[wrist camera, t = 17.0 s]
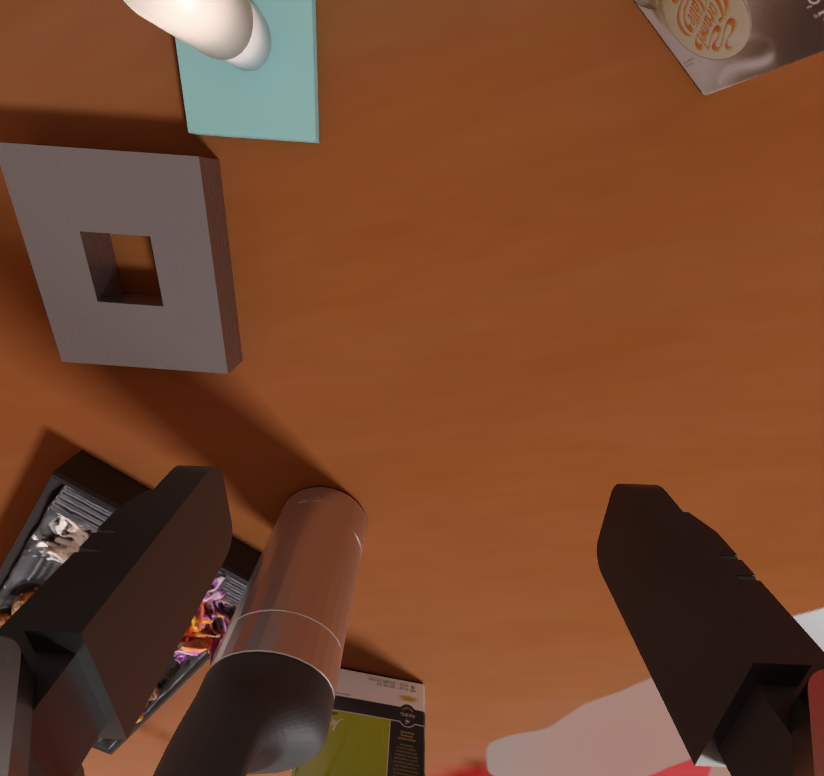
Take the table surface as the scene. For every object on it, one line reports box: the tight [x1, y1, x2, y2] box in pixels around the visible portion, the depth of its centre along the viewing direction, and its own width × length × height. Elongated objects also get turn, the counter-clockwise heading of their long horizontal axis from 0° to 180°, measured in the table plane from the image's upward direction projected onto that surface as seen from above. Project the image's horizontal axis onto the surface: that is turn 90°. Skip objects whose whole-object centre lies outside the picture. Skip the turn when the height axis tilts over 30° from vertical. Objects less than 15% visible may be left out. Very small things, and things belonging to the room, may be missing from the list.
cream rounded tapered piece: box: [124, 0, 271, 71], centre depth 23 cm, size 4×4×10 cm
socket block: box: [0, 143, 242, 374], centre depth 33 cm, size 16×14×3 cm
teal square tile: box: [175, 0, 319, 143], centre depth 28 cm, size 9×9×1 cm
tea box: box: [292, 669, 425, 776], centre depth 52 cm, size 15×10×15 cm, turn 75°
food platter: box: [0, 450, 262, 755], centre depth 49 cm, size 45×25×10 cm, turn 140°
